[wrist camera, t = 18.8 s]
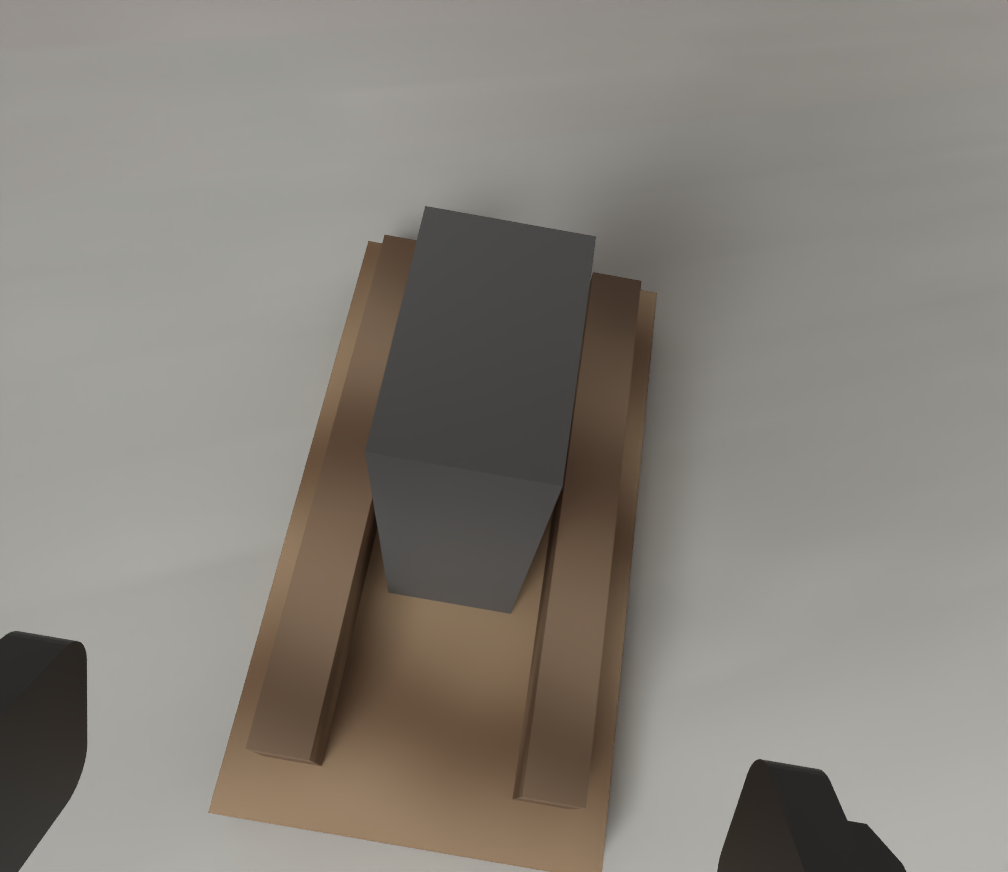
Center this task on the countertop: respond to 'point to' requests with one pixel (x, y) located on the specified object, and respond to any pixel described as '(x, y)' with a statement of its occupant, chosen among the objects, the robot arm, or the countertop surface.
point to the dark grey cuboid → (477, 406)
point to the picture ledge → (448, 631)
